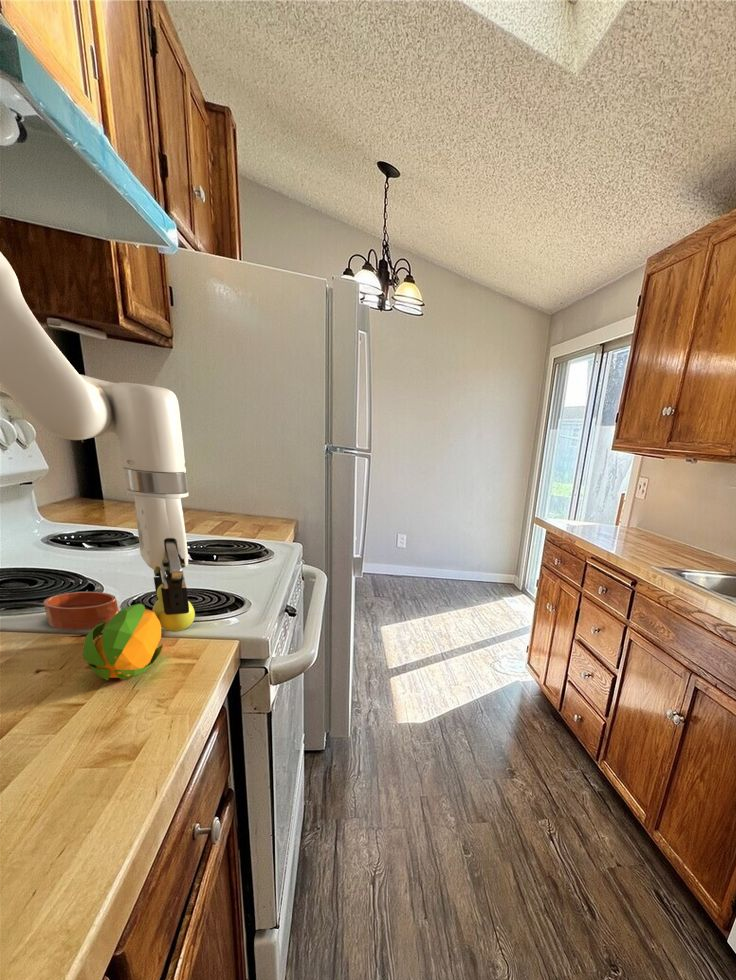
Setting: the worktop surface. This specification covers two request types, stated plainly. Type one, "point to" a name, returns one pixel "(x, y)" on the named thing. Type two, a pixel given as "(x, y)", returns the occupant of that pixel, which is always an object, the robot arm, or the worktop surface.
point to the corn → (124, 643)
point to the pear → (175, 620)
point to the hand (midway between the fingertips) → (173, 606)
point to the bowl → (80, 610)
